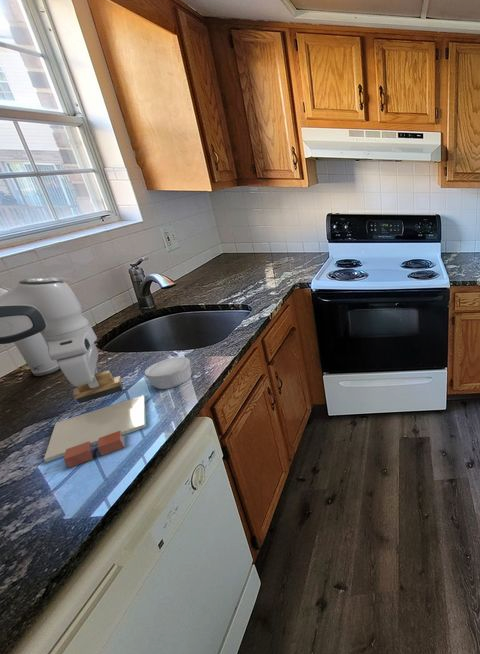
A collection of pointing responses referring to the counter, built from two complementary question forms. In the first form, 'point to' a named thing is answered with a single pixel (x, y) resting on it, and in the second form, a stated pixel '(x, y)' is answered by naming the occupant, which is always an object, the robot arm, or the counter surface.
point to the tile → (96, 426)
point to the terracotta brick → (111, 443)
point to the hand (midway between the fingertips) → (95, 383)
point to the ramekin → (169, 372)
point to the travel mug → (37, 355)
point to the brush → (99, 387)
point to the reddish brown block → (79, 454)
